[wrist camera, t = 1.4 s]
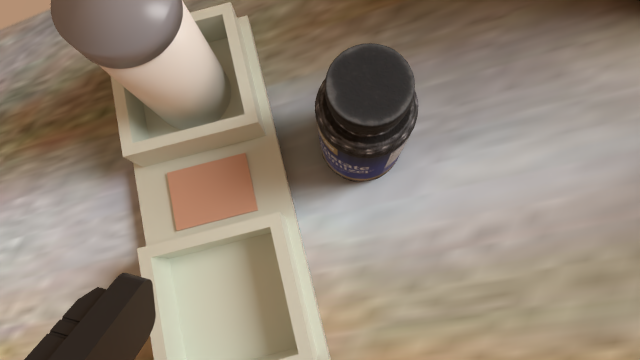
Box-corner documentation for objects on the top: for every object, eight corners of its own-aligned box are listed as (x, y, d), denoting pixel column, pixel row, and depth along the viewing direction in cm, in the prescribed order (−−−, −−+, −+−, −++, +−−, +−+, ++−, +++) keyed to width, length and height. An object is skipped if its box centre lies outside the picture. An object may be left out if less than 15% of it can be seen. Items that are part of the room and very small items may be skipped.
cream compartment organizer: (330, 359, 30) (320, 428, 17) (177, 398, 30) (50, 497, 17) (250, 23, 35) (196, -118, 23) (122, 56, 36) (-4, -66, 23)
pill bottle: (306, 157, 33) (287, 102, 22) (346, 93, 34) (348, 10, 23) (375, 198, 32) (391, 161, 21) (415, 131, 33) (450, 63, 22)
